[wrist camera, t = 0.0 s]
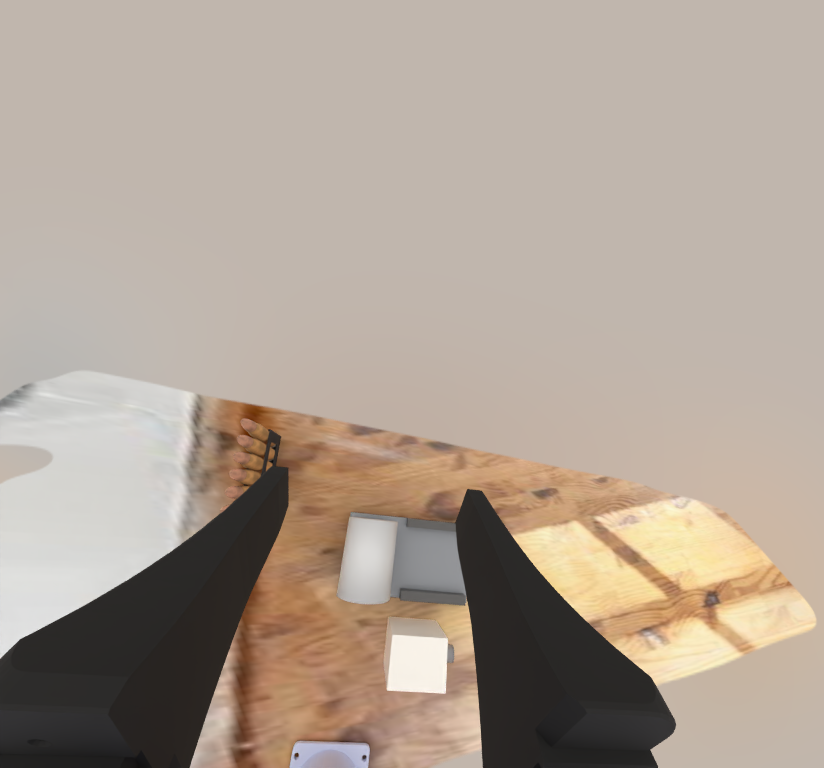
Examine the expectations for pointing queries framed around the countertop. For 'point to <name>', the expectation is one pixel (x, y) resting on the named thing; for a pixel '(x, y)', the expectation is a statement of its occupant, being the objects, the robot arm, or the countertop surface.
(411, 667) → the block
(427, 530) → the motor mount
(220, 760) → the countertop surface
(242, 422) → the ammunition clip
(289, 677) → the countertop surface
